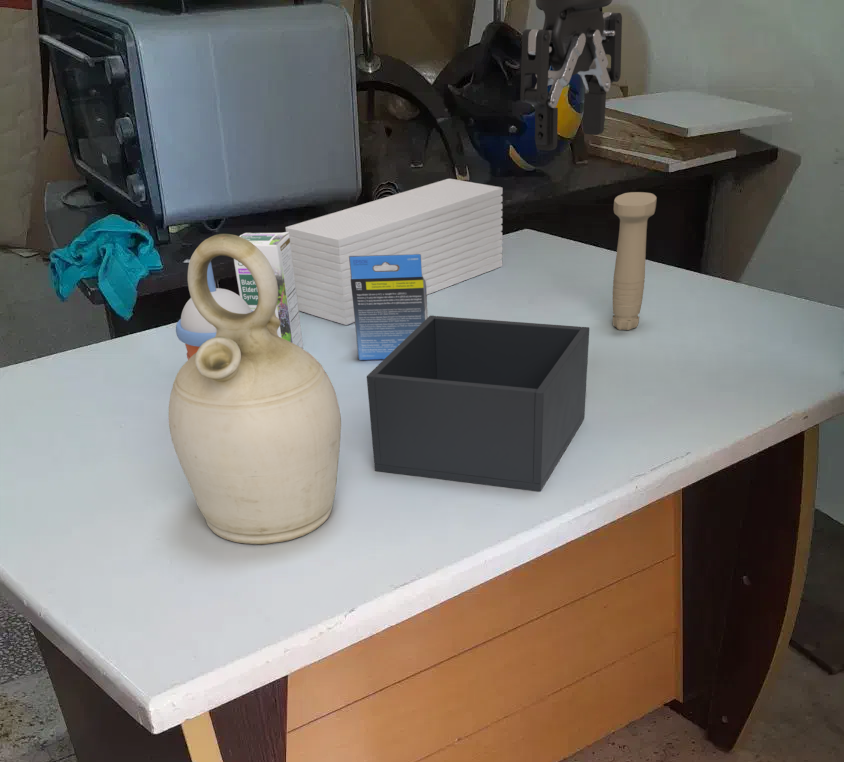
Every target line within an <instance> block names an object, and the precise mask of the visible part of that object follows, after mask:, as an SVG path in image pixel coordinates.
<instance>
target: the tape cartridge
mask: <svg viewBox="0 0 844 762" xmlns="http://www.w3.org/2000/svg"><path fill="white" fill-rule="evenodd" d="M349 262H350V274H351V289H352V298H353V308H354V318H355V322H354V326H355V337H356V338H355V339H356V349H357V350H356V351H357V358H358V360H359V361H375V360H376V361H377V360H378V361H379V360H380V361H381V360H384V359H385V358H386V357H387V356H388V355H389V354H390V353H391V352H392V351H394V350H395V349H396V348H397V347H398V346H399V345H400V344H401V343H402V342H403V341H404V340H405V339H406V338H407V337H408V336H409V335H410V334H411V333H412V332H413V331H414V330H415V329H417V328H418V327H419V326H420V325H421V324H422V323H423V322H424V321H425V320H426V319H427V318H428V317H429V309H428V295H427V291H426V281H425V279H424V278H423V276H422V265H421V254H407V255H370V256H349ZM385 262H386V263H387V264H388V265H396V266H397V267H398V269H397V270H394V271H393V270H389V271H375V270H374V266H381V265H382V264H383V263H385Z"/></svg>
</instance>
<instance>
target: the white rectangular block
mask: <svg viewBox="0 0 844 762" xmlns="http://www.w3.org/2000/svg"><path fill="white" fill-rule="evenodd" d="M503 193H504V191H503V187H501V186H495V185H491V184H483V183H478V182H472V181H465V180H461V179H454V178H446V179H442V180H440V181H439V180H438V181H435V182H433V183H429V184H425V185H423V186H419V187H416V188H413V189H409V190H405V191H402V192H398V193H396V194H395V193H394V194H392V195H389V196H386V197H382V198H379V199H376V200H373V201H369V202H366V203H362V204H359V205H356V206H352V207H349V208H345V209H343V210H342V209H341V210H339V211H336V212H332V213H328V214H325V215H322V216H318V217H315V218H311V219H308V220H304V221H302V222H298V223H295V224H292V225H288V226H285V232H289V236H290V244H291V253H292V261H293V269H294V277H295V285H296V293H297V301H298V309H299V312H303V313H305V314H308V315H311V316H315V317H318V318H321V319H325V320H328V321H331V322H335V323H338V324H341V325H344V326H348V325H351V324H353V323H355V318H354V308H353V298H352V289H351V274H350V262H349V256H370V255H407V254H421V265H422V276H423V278H424V279H425V281H426V291H427V296H428V295H431V294H433V293H435V292H438V291H441V290H443V289H447V288H449V287H451V286H454V285H457V284H459V283H462V282H464V281H466V280H470V279H472V278H475V277H479V276H480V275H483V274H486V273H488V272H491V271H493V270H496V269H499V268H501V267H503V253H502V252H503V246H502V245H503V232H502V231H503V225H502V224H503V203H502V202H503ZM397 269H398V267H397V266H396V265H388V264H387V263H386V262H385V263H383V264H382V265H381V266H374V270H375V271H389V270H393V271H394V270H397Z"/></svg>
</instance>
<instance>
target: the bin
mask: <svg viewBox="0 0 844 762" xmlns="http://www.w3.org/2000/svg"><path fill="white" fill-rule="evenodd" d="M589 344H590V327H588V326H577V325H563V324H561V325H560V324H549V323H536V322H522V321H508V320H496V319H482V318H470V317H469V318H468V317H454V316H441V315H428V318H427V319H426V320H425V321H424V322H423V323H422V324H421V325H420V326H419V327H418V328H417V329H415V330H414V331H413V332H412V333H411V334H410V335H409V336H408V337H407V338H406V339H405V340H404V341H403V342H402V343H401V344H400V345H399V346H398V347H397V348H396V349H395V350H394V351H392V352H391V353H390V354H389V355H388V356H387V357H386V358H385V359H382V360H381V362H379V364H378V365H377V366H376V367H375V368H373V369H372V370H371V371H370V372H369V373H368V374H366V385H367V397H368V409H369V420H370V430H371V441H372V442H371V443H372V453H373V465H374V466H373V467H374V471H375V472H383V473H388V474H389V473H391V474H398V475H406V476H415V477H421V478H428V479H429V478H430V479H437V480H445V481H453V482H462V483H470V484H479V485H485V486H486V485H487V486H492V487H493V486H495V487H501V488H510V489H518V490H525V491H533V492H541V491H542V490H543V488H544V486H545V485H546V484H547V482H548V480H549V479H550V476H551V475H552V473H553V472H554V470H555V468H556V466H557V465H558V463H559V462H560V460H561V458H562V456H563V455H564V454H565V452H566V450H567V449H568V447H569V445H570V443H571V442H572V440H573V438H574V437H575V435H576V434H577V432H578V430H579V428H580V427H581V425H582V423H583V421H584V420H585V415H586V414H585V413H586V397H587V379H588V360H589Z"/></svg>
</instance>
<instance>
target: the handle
mask: <svg viewBox="0 0 844 762" xmlns="http://www.w3.org/2000/svg"><path fill="white" fill-rule="evenodd" d="M657 198H658V197H657V196H656V195H655V194H654V193H651V192H644V191H630V192H624V193H622V194H621V193H620V194H619V195H617V196H615V198H614V200H613V213H614V215H616V217H618V219H619V231H618V240H617V247H616V254H615V257H616V258H615V263H614V271H613V281H612V313H613V315H612V325H613V327H615V328H616V329H617V330H619V331H623V330H624V331H631V330H632V329H636V328H637V327H638V326H639V322H640V316H639V315H640V313H641V309H642V304H643V297H644V289H645V279H646V256H647V253H646V252H647V233H648V232H647V229H648V220H649V218H650V217H652V216H653V215H655V212H656V208H657Z"/></svg>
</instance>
